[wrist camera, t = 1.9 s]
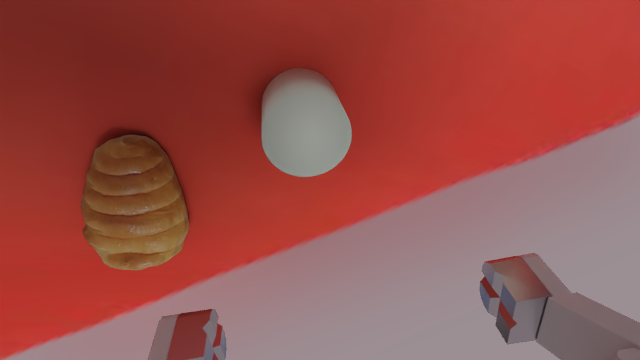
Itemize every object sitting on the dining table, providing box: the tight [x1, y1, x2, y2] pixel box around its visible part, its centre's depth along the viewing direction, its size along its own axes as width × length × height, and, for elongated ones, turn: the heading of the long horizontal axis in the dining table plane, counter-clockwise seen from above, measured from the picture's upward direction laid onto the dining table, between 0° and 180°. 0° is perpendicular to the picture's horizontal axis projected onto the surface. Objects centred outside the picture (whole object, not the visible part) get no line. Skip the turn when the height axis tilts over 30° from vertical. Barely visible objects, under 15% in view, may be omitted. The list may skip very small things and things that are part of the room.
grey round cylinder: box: [262, 68, 352, 177], centre depth 23 cm, size 5×5×5 cm
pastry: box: [81, 135, 189, 270], centre depth 26 cm, size 9×7×4 cm
